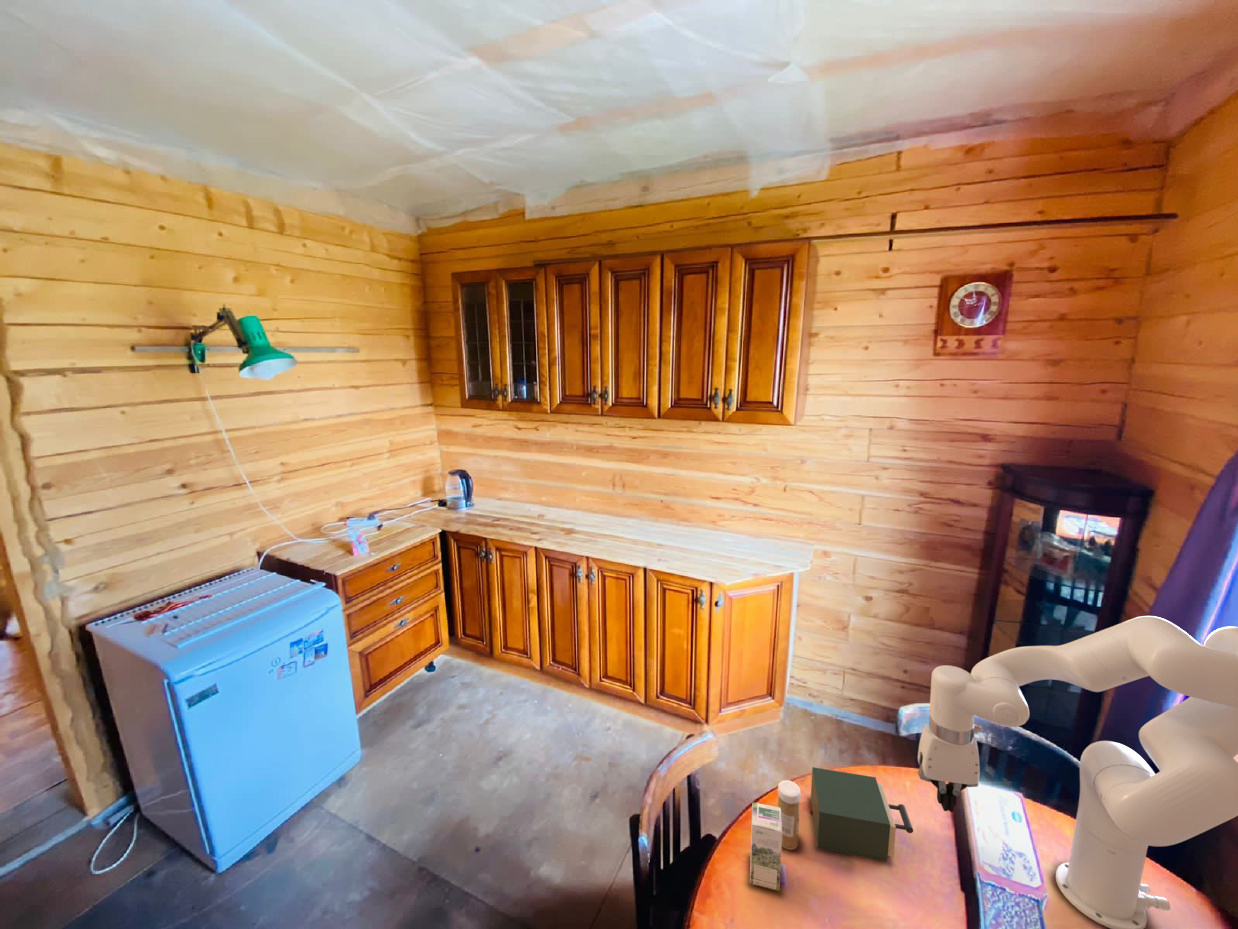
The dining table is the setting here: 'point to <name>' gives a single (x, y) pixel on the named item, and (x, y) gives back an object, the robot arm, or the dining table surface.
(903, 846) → the dining table surface
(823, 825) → the cabinet
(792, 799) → the spice jar
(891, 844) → the drawer
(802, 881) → the dining table surface
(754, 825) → the syrup box
